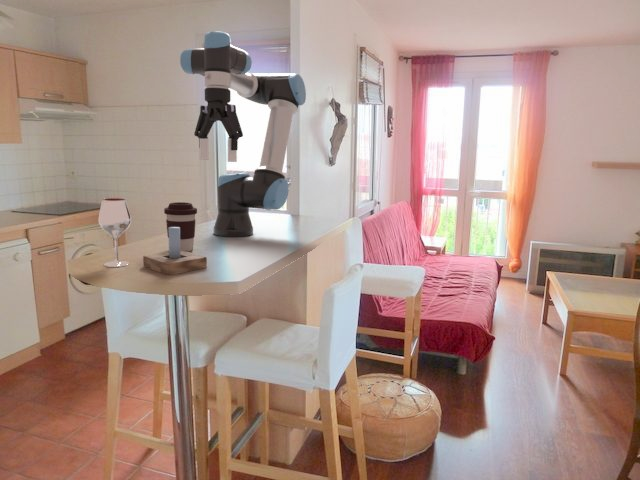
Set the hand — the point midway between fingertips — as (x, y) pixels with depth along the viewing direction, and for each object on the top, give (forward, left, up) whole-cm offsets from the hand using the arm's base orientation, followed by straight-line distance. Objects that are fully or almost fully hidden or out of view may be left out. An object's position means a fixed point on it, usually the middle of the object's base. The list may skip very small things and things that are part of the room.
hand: (217, 160), depth 146 cm
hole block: (+20, +7, -29) cm, 36 cm away
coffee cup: (+6, -11, -29) cm, 31 cm away
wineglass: (+30, -6, -29) cm, 42 cm away
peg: (+20, +7, -29) cm, 36 cm away
